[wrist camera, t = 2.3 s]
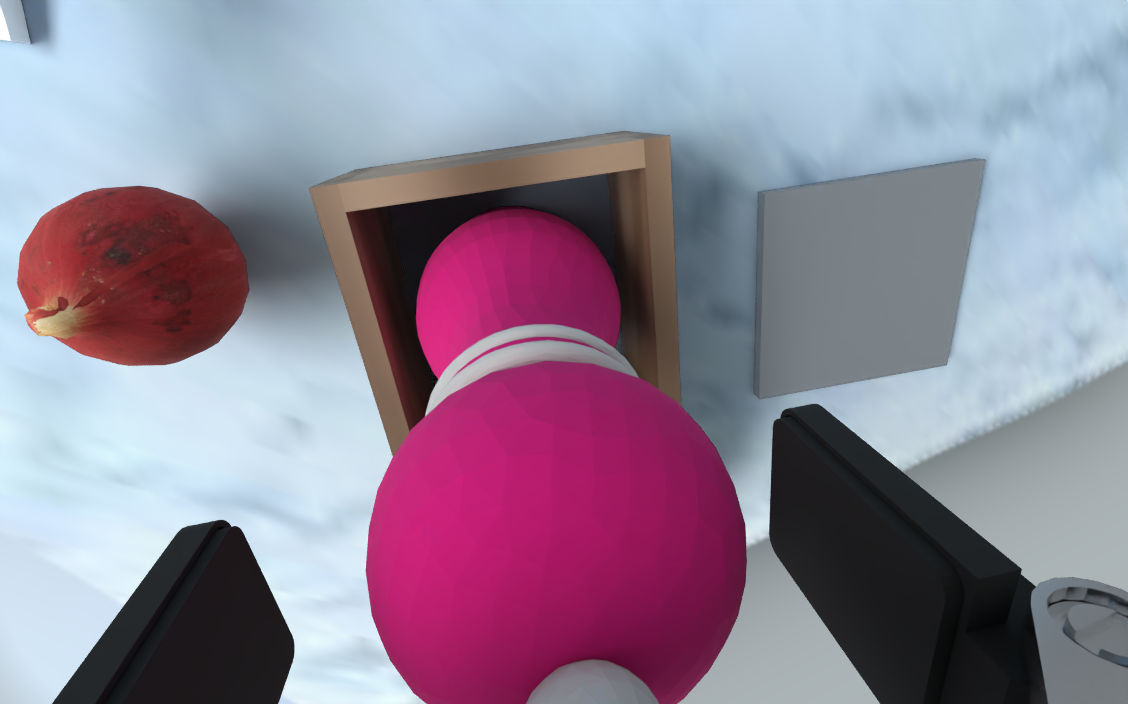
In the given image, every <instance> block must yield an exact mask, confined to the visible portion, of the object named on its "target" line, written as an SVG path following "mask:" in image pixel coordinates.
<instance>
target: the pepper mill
mask: <svg viewBox="0 0 1128 704" xmlns="http://www.w3.org/2000/svg"><path fill="white" fill-rule="evenodd" d="M620 317H621V304H620V297H619V291H618V288H617V285H616V282H615V279H614V275H613V273H612V271H611V269H610V267H609V265H608V263H607V261H606V259H605V258H604V256H603V255H602V253H601V252H600V250H599V248H598V247H597V245H596V244H595V243H594V242H593V241H592V240H591V239H590V238H589V237H588V236H587V235H586V234H585V233H584V232H583V231H581V230H580V229H578V228H577V227H576V226H574V225H573V224H571V223H570V222H568V221H566V220H564V219H561V218H559V217H557V216H555V215H552V214H549V213H545V212H541V211H538V210H535V209H532V208H527V207H521V206H503V207H498V208H493V209H490V210H487V211H484V212H482V213H480V214H478V215H476V216H474V217H473V218H471V219H470V220H468V221H467V222H466V223H464V224H462V225H461V226H459V227H458V228H456V229H455V230H454V231H453V232H452V233H451V234H449V235H448V236H447V237H446V238H445V239H444V240H443V241H442V242H441V243H440V244H439V246H438V247H437V248H436V249H435V250H434V252H433V254H432V255H431V257H430V259H429V260H428V262H427V264H426V266H425V268H424V271H423V274H422V276H421V279H420V283H419V289H418V294H417V308H416V324H417V332H418V337H419V340H420V343H421V347H422V350H423V352H424V354H425V356H426V359H427V361H428V363H429V365H430V367H431V369H432V371H433V373H434V374H435V376H436V377H437V378H438V382H437V384H436V385H435V387H434V389H433V391H432V393H431V396H430V399H429V403H428V406H427V410H426V414H425V417H424V418H423V419H422V420H421V421H420V422H419V423H418V424H417V425H416V426H414V427H413V428H412V429H411V431H410V432H409V434H408V435H407V437H406V438H405V440H404V441H403V443H402V444H401V446H400V447H399V449H398V450H397V452H396V453H395V455H394V456H393V458H392V460H391V462H390V465H389V467H388V469H387V471H386V473H385V475H384V477H383V480H382V482H381V484H380V486H379V488H378V491H377V495H376V500H375V504H374V508H373V513H372V517H371V521H370V526H369V534H368V548H367V561H366V576H367V583H368V591H369V598H370V605H371V612H372V617H373V620H374V622H375V625H376V628H377V630H378V633H379V635H380V638H381V641H382V643H383V645H384V647H385V650H386V652H387V654H388V656H389V659H390V661H391V662H392V663H393V665H394V666H395V668H396V669H397V670H398V672H399V673H400V675H401V676H402V677H403V679H404V680H405V682H406V683H407V684H408V686H409V687H410V689H411V690H412V691H413V693H414V694H415V695H417V696H418V697H419V698H420V699H422V700H423V701H424V702H425V703H427V704H677V703H678V702H680V701H681V700H683V699H684V698H685V697H686V696H687V694H688V693H689V692H690V691H691V690H692V689H693V688H694V687H695V686H696V684H697V683H698V682H699V681H700V680H701V679H702V678H703V677H704V675H705V674H706V673H707V672H708V671H709V669H710V668H711V666H712V665H713V663H714V661H715V659H716V658H717V656H718V654H719V653H720V651H721V649H722V648H723V646H724V644H725V642H726V640H727V638H728V636H729V634H730V632H731V630H732V628H733V626H734V623H735V621H736V619H737V616H738V613H739V609H740V604H741V600H742V596H743V592H744V587H745V582H746V564H747V558H746V531H745V522H744V519H743V515H742V512H741V508H740V505H739V501H738V498H737V494H736V490H735V487H734V484H733V482H732V480H731V478H730V476H729V474H728V472H727V470H726V468H725V466H724V464H723V462H722V460H721V457H720V455H719V453H718V451H717V449H716V447H715V446H714V445H713V443H712V442H711V441H710V439H709V438H708V437H707V435H706V434H705V433H704V431H703V430H702V428H701V427H700V426H699V425H698V424H697V423H696V422H695V421H694V419H693V418H692V417H691V416H690V415H689V414H688V413H687V412H686V411H685V410H684V409H683V408H682V407H681V406H680V405H679V404H678V403H677V402H676V401H675V400H673V399H672V398H670V397H669V396H667V395H666V394H664V393H663V392H661V391H660V390H659V389H657V388H656V387H654V386H653V385H651V384H650V383H648V382H647V381H645V380H643V379H640V378H639V377H638V376H637V374H636V372H635V370H634V369H633V368H632V366H631V365H630V364H629V362H628V361H627V360H626V358H625V357H624V356H622V355H621V354H620V353H619V352H618V351H617V350H616V349H615V347H616V343H617V339H618V335H619V328H620Z"/></svg>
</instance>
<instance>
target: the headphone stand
mask: <svg viewBox="0 0 1128 704" xmlns="http://www.w3.org/2000/svg"><path fill="white" fill-rule="evenodd" d="M0 40H6V41H13V42H20V43H27V44H31V43H30V38H29V34H28V29H27V24H26V20H25V15H24V11H23V6H22V2H21V0H0Z"/></svg>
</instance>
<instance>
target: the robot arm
mask: <svg viewBox="0 0 1128 704" xmlns="http://www.w3.org/2000/svg"><path fill="white" fill-rule="evenodd" d="M769 536H770V541H771V544H772V547H773V549H774V551H775V553H776V555H777V557H778V558H779V559H780V561H781V562H782V564H783V565H784V566H785V568H786V569H787V571H788V572H789V573H790V575H791V576H792V578H793V579H794V581H795V582H796V584H797V585H798V586H799V588H800V590H801V591H802V592H803V594H804V595H805V597H806V598H807V600H808V601H809V602H810V604H811V605H812V607H813V608H814V609H815V611H816V612H817V614H818V615H819V617H820V618H821V620H822V621H823V622H824V624H825V625H826V627H827V628H828V630H829V631H830V632H831V634H832V635H833V637H834V638H835V640H836V641H837V642H838V644H839V645H840V647H841V648H842V650H843V651H844V652H845V654H846V655H847V657H848V658H849V660H850V661H851V662H852V664H853V665H854V667H855V668H856V670H857V671H858V672H859V674H860V675H861V677H862V678H863V680H864V681H865V682H866V684H867V685H868V687H869V688H870V690H871V691H872V692H873V694H874V695H875V697H876V698H877V700H878V701H879V703H880V704H1128V592H1126V591H1124V590H1122V589H1119V588H1116V587H1113V586H1110V585H1107V584H1104V583H1101V582H1097V581H1093V580H1087V579H1081V578H1074V577H1068V578H1053V579H1050V580H1047V581H1044V582H1041V583H1039V584H1038V586H1037V587H1036V586H1034V585H1033V584H1032V583H1031V582H1030V581H1028V580H1027V579H1026V578H1024V576H1022V575H1021V570H1022V569H1021V568H1020V567H1018V566H1017V565H1016V564H1015V563H1014V562H1012V561H1011V560H1010V559H1009V558H1007V557H1006V556H1005V555H1004V554H1002V553H1001V552H1000V551H999V550H998V549H996V548H995V547H994V546H993V545H991V544H990V543H989V542H988V541H987V540H985V539H984V538H983V537H982V536H980V535H979V534H978V533H977V532H975V531H974V530H973V529H972V528H971V527H969V526H968V525H967V524H966V523H964V522H963V521H962V520H961V519H959V518H958V517H957V516H956V515H955V514H953V513H952V512H951V511H950V510H948V509H947V508H946V507H945V506H943V505H942V504H941V503H940V502H939V501H937V500H936V499H935V498H934V497H932V496H931V495H930V494H929V493H928V492H926V491H925V490H924V489H923V488H921V487H920V486H919V485H918V484H916V483H915V482H914V481H913V480H911V479H910V478H909V477H908V476H907V475H905V474H904V473H903V472H902V471H900V470H899V469H898V468H897V467H896V466H894V465H893V464H892V463H891V462H889V461H888V460H887V459H886V458H885V457H883V456H882V455H881V454H880V453H878V452H877V451H876V450H875V449H873V448H872V447H871V446H870V445H869V444H867V443H866V442H865V441H864V440H862V439H861V438H860V437H859V436H857V435H856V434H855V433H854V432H853V431H851V430H850V429H849V428H848V427H846V426H845V425H844V424H843V423H841V422H840V421H839V420H838V419H837V418H835V417H834V416H833V415H832V414H830V413H829V412H828V411H827V410H825V409H824V408H823V407H822V406H820V405H818V404H810V405H805V406H800V407H795V408H789V409H785V410H784V411H783V412H782V414H781V418H780V419H777V420H775V421H774V423H773V439H772V468H771V497H770V526H769ZM293 658H294V639H293V637H292V634H291V632H290V630H289V628H288V626H287V624H286V622H285V619H284V617H283V615H282V613H281V611H280V609H279V607H278V605H277V603H276V601H275V598H274V596H273V594H272V592H271V590H270V588H269V586H268V584H267V582H266V580H265V578H264V575H263V573H262V571H261V569H260V567H259V565H258V563H257V561H256V559H255V557H254V554H253V552H252V550H251V548H250V546H249V544H248V542H247V540H246V538H245V536H244V534H243V532H242V530H241V529H240V528H239V527H237V526H233V527H231V525H230V524H229V523H228V522H227V521H225V520H217V521H212V522H207V523H202V524H197V525H192V526H187V527H185V528H182V529H181V530H180V531H179V532H178V533H177V534H176V536H175V537H174V538H173V540H172V541H171V542H170V544H169V545H168V547H167V548H166V549H165V551H164V552H163V553H162V555H161V556H160V557H159V559H158V560H157V562H156V563H155V564H154V566H153V567H152V568H151V570H150V571H149V572H148V574H147V575H146V577H145V578H144V579H143V581H142V582H141V583H140V585H139V586H138V587H137V589H136V590H135V591H134V593H133V594H132V596H131V597H130V598H129V600H128V601H127V602H126V604H125V605H124V606H123V608H122V609H121V611H120V612H119V613H118V615H117V616H116V618H115V619H114V620H113V621H112V623H111V624H110V626H109V627H108V628H107V630H106V631H105V632H104V634H103V635H102V636H101V638H100V639H99V641H98V642H97V643H96V645H95V646H94V647H93V649H92V650H91V652H90V653H89V654H88V656H87V657H86V658H85V660H84V661H83V662H82V664H81V665H80V667H79V668H78V669H77V671H76V672H75V673H74V675H73V676H72V678H71V679H70V680H69V682H68V683H67V684H66V686H65V687H64V688H63V690H62V691H61V692H60V694H59V695H58V696H57V698H56V699H55V700H54V702H53V703H52V704H278V702H279V700H280V697H281V694H282V691H283V688H284V685H285V682H286V679H287V677H288V674H289V671H290V668H291V665H292V662H293Z"/></svg>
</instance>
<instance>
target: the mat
mask: <svg viewBox="0 0 1128 704" xmlns="http://www.w3.org/2000/svg"><path fill="white" fill-rule="evenodd" d="M984 165H985V159H968V160H962V161H955V162H949V163H942V164H936V165H929V166H923V167H917V168H910V169H904V170H897V171H891V172H884V173H878V174H871V175H865V176H858V177H852V178H845V179H839V180H832V181H826V182H819V183H813V184H807V185H800V186H794V187H787V188H781V189H774V190H768V191H761V192H758V226H757V271H756V317H755V362H754V394H755V395H756V397H757V398H758V399H764V398H769V397H775V396H780V395H786V394H791V393H797V392H802V391H808V390H813V389H819V388H824V387H830V386H835V385H841V384H846V383H852V382H857V381H863V380H868V379H874V378H879V377H885V376H890V375H896V374H901V373H907V372H912V371H918V370H923V369H929V368H934V367H940V366H945V365H947V362H948V357H949V352H950V346H951V341H952V336H953V330H954V325H955V320H956V314H957V309H958V304H959V298H960V293H961V288H962V282H963V277H964V272H965V266H966V261H967V256H968V250H969V245H970V240H971V234H972V229H973V224H974V218H975V213H976V208H977V202H978V197H979V192H980V186H981V181H982V176H983V170H984Z"/></svg>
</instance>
